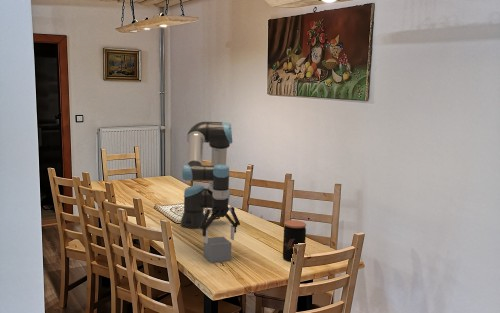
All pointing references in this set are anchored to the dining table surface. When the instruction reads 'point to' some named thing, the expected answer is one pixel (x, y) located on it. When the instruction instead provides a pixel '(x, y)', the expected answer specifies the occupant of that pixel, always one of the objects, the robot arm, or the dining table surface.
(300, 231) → the coffee jar
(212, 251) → the rounded grey cube
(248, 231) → the dining table surface
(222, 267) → the dining table surface
